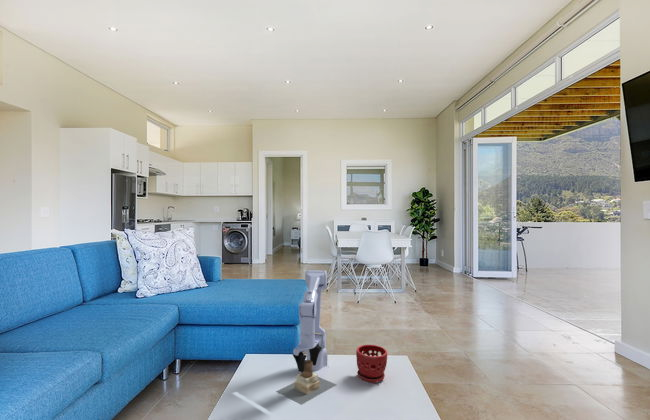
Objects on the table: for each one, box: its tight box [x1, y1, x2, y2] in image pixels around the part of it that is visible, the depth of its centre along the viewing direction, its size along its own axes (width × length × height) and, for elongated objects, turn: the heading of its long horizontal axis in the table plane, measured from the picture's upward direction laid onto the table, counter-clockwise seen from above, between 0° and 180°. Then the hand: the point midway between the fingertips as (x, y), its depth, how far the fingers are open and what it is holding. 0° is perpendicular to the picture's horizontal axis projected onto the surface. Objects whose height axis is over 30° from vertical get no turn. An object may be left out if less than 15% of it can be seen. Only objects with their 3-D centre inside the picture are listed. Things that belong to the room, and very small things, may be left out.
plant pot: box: [355, 344, 388, 384], centre depth 144 cm, size 13×13×12 cm
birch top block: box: [296, 372, 319, 387], centre depth 133 cm, size 6×6×2 cm
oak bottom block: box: [294, 381, 320, 394], centre depth 133 cm, size 7×7×2 cm
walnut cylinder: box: [300, 359, 314, 378], centre depth 133 cm, size 4×4×5 cm
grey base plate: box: [275, 376, 337, 405], centre depth 133 cm, size 20×14×1 cm
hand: (307, 368), depth 133 cm, fingers open, 7 cm apart
